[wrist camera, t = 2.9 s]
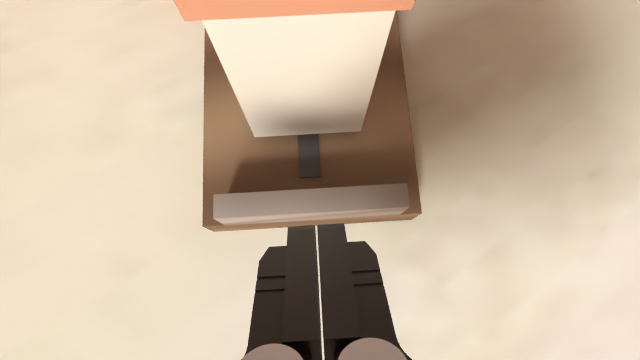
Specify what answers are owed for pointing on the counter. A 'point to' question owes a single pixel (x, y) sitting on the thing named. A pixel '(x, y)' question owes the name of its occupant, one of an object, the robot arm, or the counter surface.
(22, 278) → the counter surface
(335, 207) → the fader console
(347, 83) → the fader knob
